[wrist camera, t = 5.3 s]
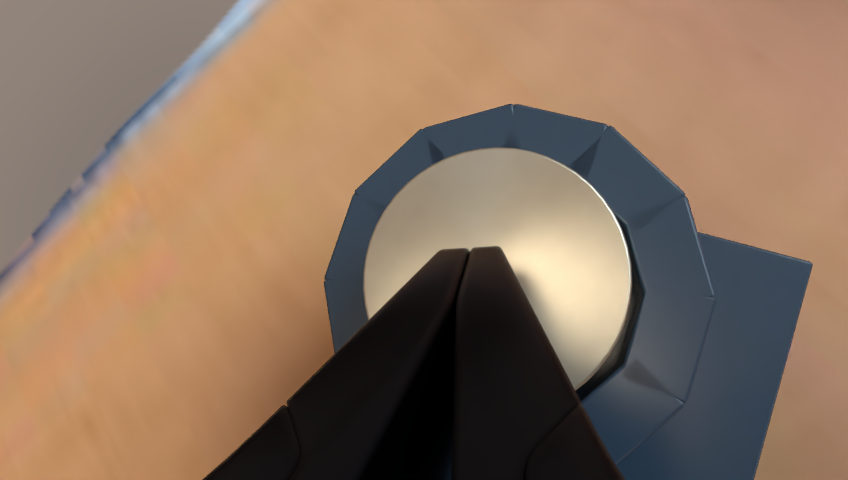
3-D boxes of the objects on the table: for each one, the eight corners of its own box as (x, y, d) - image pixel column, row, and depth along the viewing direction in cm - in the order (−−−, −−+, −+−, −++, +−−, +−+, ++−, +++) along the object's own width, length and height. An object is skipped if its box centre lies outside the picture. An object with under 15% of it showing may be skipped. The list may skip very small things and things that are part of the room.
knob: (584, 439, 12) (584, 460, 9) (371, 359, 13) (327, 361, 11) (651, 215, 12) (667, 184, 10) (439, 159, 13) (409, 120, 11)
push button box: (650, 656, 16) (693, 850, 10) (336, 512, 19) (213, 593, 12) (766, 244, 17) (873, 182, 11) (453, 162, 20) (393, 74, 13)
